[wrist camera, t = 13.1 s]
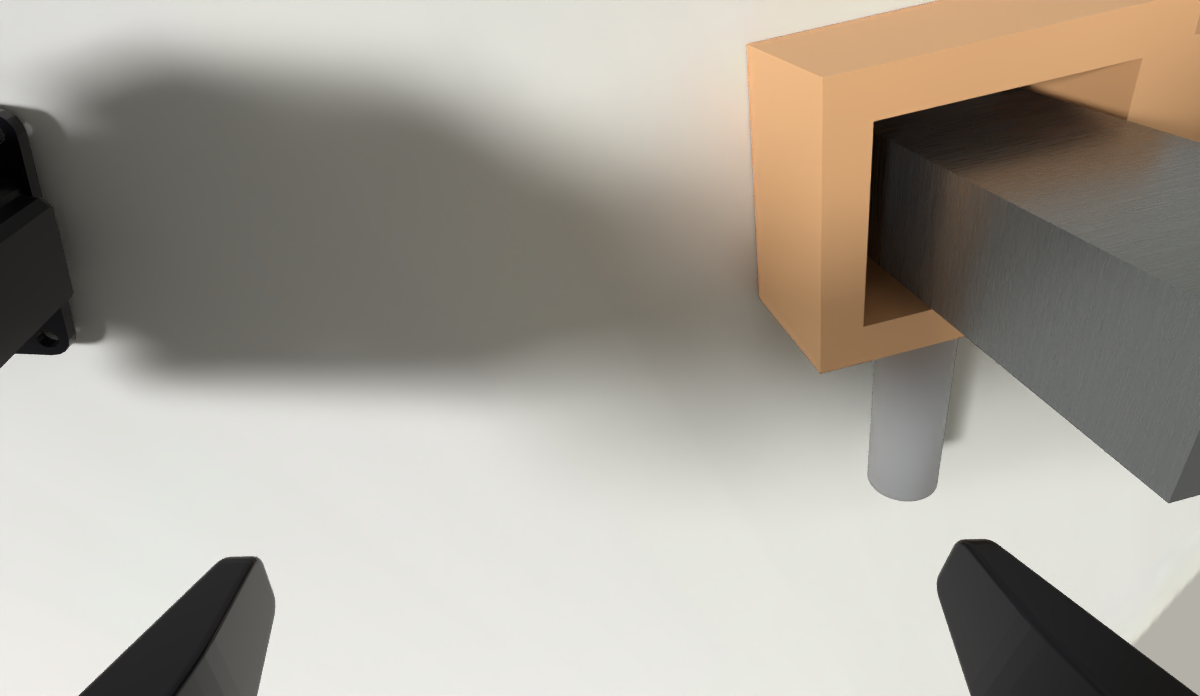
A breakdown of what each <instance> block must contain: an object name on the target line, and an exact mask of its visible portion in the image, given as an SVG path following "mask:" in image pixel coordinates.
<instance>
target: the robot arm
mask: <svg viewBox="0 0 1200 696" xmlns="http://www.w3.org/2000/svg"><path fill="white" fill-rule="evenodd" d="M0 128H1V129H2V130H3V132H4V134H5V140H3V139H0V368H1V367H2V366H3V365H4V364H5V363H6V362H7V361H8V360H9V359H10V358H11V357H12V356H13V355H14V354H39V355H57V354H61V353H63V352H65V351H66V350H67V349H68V348H69V347H70V346H71V344H72V343H73V342H74V340H75V339H76V332H75V328H74V323H73V319H72V315H71V311H70V307H69V303H68V299H69V298H70V297H71V296H72V295H73V289H72V285H71V281H70V277H69V273H68V268H67V264H66V260H65V256H64V252H63V248H62V243H61V239H60V235H59V231H58V227H57V223H56V218H55V214H54V210H53V208H52V207H51V205H50V204H49V203H48V202H47V201H46V200H45V199H43V198H42V194H41V190H40V186H39V182H38V177H37V173H36V169H35V165H34V161H33V157H32V153H31V149H30V145H29V141H28V137H27V133H26V130H25V128H24V126H23V124H22V122H21V121H20V120H19V119H18V118H17V117H16V116H15V115H14V114H12V113H10V112H9V111H7V110H5V109H1V108H0ZM44 331H48V332H51V333H53V334H55V335H56V336H57V338H58V339H59V340H55V339H51V338H49V337H48V336H46V334H45V333H44ZM937 592H938V597H939V600H940V603H941V606H942V609H943V612H944V615H945V618H946V621H947V624H948V628H949V631H950V634H951V637H952V640H953V643H954V646H955V649H956V652H957V655H958V658H959V661H960V665H961V668H962V671H963V674H964V677H965V680H966V683H967V686H968V689H969V692H970V695H971V696H1198V695H1197V694H1195V693H1194V692H1192V691H1191V690H1190V689H1189V688H1187V687H1186V686H1185V685H1184V684H1182V683H1181V682H1180V681H1178V680H1177V679H1176V678H1174V677H1173V676H1171V675H1170V674H1169V673H1167V672H1166V671H1165V670H1164V669H1162V668H1161V667H1160V666H1158V665H1157V664H1156V663H1154V662H1153V661H1152V660H1150V659H1149V658H1148V657H1146V656H1145V655H1144V654H1142V653H1141V652H1140V651H1138V650H1137V649H1136V648H1135V647H1133V646H1132V645H1131V644H1129V643H1128V642H1127V641H1125V640H1124V639H1123V638H1121V637H1120V636H1119V635H1117V634H1116V633H1115V632H1113V631H1112V630H1111V629H1109V628H1108V627H1107V626H1105V625H1104V624H1103V623H1101V622H1100V621H1099V620H1097V619H1096V618H1095V617H1093V616H1092V615H1091V614H1089V613H1088V612H1087V611H1086V610H1084V609H1083V608H1082V607H1080V606H1079V605H1078V604H1076V603H1075V602H1074V601H1072V600H1071V599H1070V598H1068V597H1067V596H1066V595H1064V594H1063V593H1062V592H1060V591H1059V590H1058V589H1056V588H1055V587H1054V586H1052V585H1051V584H1050V583H1048V582H1047V581H1046V580H1044V579H1043V578H1042V577H1040V576H1039V575H1038V574H1037V573H1035V572H1034V571H1033V570H1031V569H1030V568H1029V567H1027V566H1026V565H1025V564H1023V563H1022V562H1021V561H1019V560H1018V559H1017V558H1015V557H1014V556H1013V555H1011V554H1010V553H1009V552H1007V551H1006V550H1005V549H1003V548H1002V547H1001V546H999V545H998V544H996V543H995V542H993V541H991V540H987V539H964V540H960V541H958V542H957V543H956V544H955V545H954V547H953V549H952V550H951V552H950V554H949V556H948V558H947V560H946V562H945V564H944V566H943V568H942V569H941V571H940V573H939V575H938V579H937ZM274 614H275V597H274V593H273V590H272V588H271V585H270V582H269V579H268V576H267V574H266V571H265V568H264V565H263V563H262V561H261V560H260V559H259V558H258V557H255V556H242V557H226V558H224V559H222V560H220V561H219V562H217V563H216V564H215V565H214V566H213V567H212V568H211V569H210V570H209V571H208V572H207V573H206V574H205V575H204V576H203V577H201V578H200V579H199V580H198V581H197V582H196V583H195V584H194V585H193V586H192V587H191V588H190V589H189V590H188V591H187V592H186V593H185V594H184V595H183V596H182V597H181V598H180V599H179V600H178V601H177V602H175V603H174V604H173V605H172V606H171V607H170V608H169V609H168V610H167V611H166V612H165V613H164V614H163V615H162V616H161V617H160V618H159V619H158V620H157V621H156V622H155V623H154V624H153V625H152V626H150V627H149V628H148V629H147V630H146V631H145V632H144V633H143V634H142V635H141V636H140V637H139V638H138V639H137V640H136V641H135V642H134V643H133V644H132V645H131V646H130V647H129V648H128V649H127V650H125V651H124V652H123V653H122V654H121V655H120V656H119V657H118V658H117V659H116V660H115V661H114V662H113V663H112V664H111V665H110V666H109V667H108V668H107V669H106V670H105V671H104V672H103V673H102V674H100V675H99V676H98V677H97V678H96V679H95V680H94V681H93V682H92V683H91V684H90V685H89V686H88V687H87V688H86V689H85V690H84V691H83V692H82V693H81V694H80V695H79V696H257V693H258V689H259V684H260V679H261V675H262V670H263V666H264V661H265V656H266V652H267V647H268V643H269V638H270V633H271V629H272V624H273V619H274Z"/></svg>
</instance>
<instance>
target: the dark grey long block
mask: <svg viewBox="0 0 1200 696" xmlns="http://www.w3.org/2000/svg"><path fill="white" fill-rule="evenodd" d="M867 256H868V257H869V258H870V259H872V260H873V261H874V262H875V263H877V264H878V265H879V266H880V267H881V268H883V269H884V270H885V271H886V272H888V273H889V274H890V275H891V276H892V277H894V278H895V279H896V280H897V281H898V282H900V283H901V284H902V285H903V286H905V287H906V288H907V289H908V290H909V291H911V292H912V293H913V294H914V295H916V296H917V297H918V298H919V299H920V300H922V301H923V302H924V303H925V304H926V305H928V306H929V307H930V308H931V309H933V310H934V311H935V312H936V313H937V314H939V315H940V316H941V317H942V318H944V319H945V320H946V321H947V322H948V323H950V324H951V325H952V326H953V327H954V328H956V329H957V330H958V331H959V332H961V333H962V334H963V335H964V336H965V337H967V338H968V339H969V340H970V341H972V342H973V343H974V344H975V345H976V346H978V347H979V348H980V349H981V350H982V351H984V352H985V353H986V354H987V355H989V356H990V357H991V358H992V359H993V360H995V361H996V362H997V363H998V364H1000V365H1001V366H1002V367H1003V368H1004V369H1006V370H1007V371H1008V372H1009V373H1010V374H1012V375H1013V376H1014V377H1015V378H1017V379H1018V380H1019V381H1020V382H1021V383H1023V384H1024V385H1025V386H1026V387H1028V388H1029V389H1030V390H1031V391H1032V392H1034V393H1035V394H1036V395H1037V396H1038V397H1040V398H1041V399H1042V400H1043V401H1045V402H1046V403H1047V404H1048V405H1049V406H1051V407H1052V408H1053V409H1054V410H1056V411H1057V412H1058V413H1059V414H1060V415H1062V416H1063V417H1064V418H1065V419H1066V420H1068V421H1069V422H1070V423H1071V424H1073V425H1074V426H1075V427H1076V428H1077V429H1079V430H1080V431H1081V432H1082V433H1084V434H1085V435H1086V436H1087V437H1088V438H1090V439H1091V440H1092V441H1093V442H1094V443H1096V444H1097V445H1098V446H1099V447H1101V448H1102V449H1103V450H1104V451H1105V452H1107V453H1108V454H1109V455H1110V456H1112V457H1113V458H1114V459H1115V460H1116V461H1118V462H1119V463H1120V464H1121V465H1123V466H1124V467H1125V468H1126V469H1127V470H1129V471H1130V472H1131V473H1132V474H1133V475H1135V476H1136V477H1137V478H1138V479H1140V480H1141V481H1142V482H1143V483H1144V484H1146V485H1147V486H1148V487H1149V488H1151V489H1152V490H1153V491H1154V492H1155V493H1157V494H1158V495H1159V496H1160V497H1161V498H1163V499H1164V500H1165V501H1166V502H1168V503H1172V502H1175V501H1179V500H1183V499H1186V498H1190V497H1194V496H1197V495H1200V143H1199V142H1196V141H1193V140H1190V139H1186V138H1183V137H1180V136H1176V135H1173V134H1170V133H1167V132H1163V131H1160V130H1157V129H1153V128H1150V127H1147V126H1144V125H1140V124H1137V123H1134V122H1131V121H1127V120H1124V119H1121V118H1117V117H1114V116H1111V115H1108V114H1104V113H1101V112H1098V111H1095V110H1091V109H1088V108H1085V107H1081V106H1078V105H1075V104H1072V103H1068V102H1065V101H1062V100H1058V99H1055V98H1052V97H1049V96H1045V95H1042V94H1039V93H1036V92H1032V91H1029V90H1026V89H1022V88H1019V87H1017V88H1013V89H1009V90H1004V91H1000V92H996V93H992V94H988V95H983V96H979V97H975V98H971V99H966V100H962V101H958V102H954V103H950V104H945V105H941V106H937V107H933V108H928V109H924V110H920V111H916V112H912V113H907V114H903V115H899V116H895V117H890V118H886V119H882V120H878V121H874V122H873V143H872V163H871V183H870V203H869V223H868V243H867Z"/></svg>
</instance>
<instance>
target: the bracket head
mask: <svg viewBox="0 0 1200 696" xmlns="http://www.w3.org/2000/svg"><path fill="white" fill-rule="evenodd" d="M747 64H748V84H749V105H750V125H751V145H752V165H753V185H754V205H755V225H756V245H757V265H758V285H759V298H760V299H761V301H762V302H763V303H764V304H765V306H766V307H767V308H768V309H769V311H770V312H771V313H772V314H773V316H774V317H775V318H776V319H777V321H778V322H779V323H780V324H781V326H782V327H783V328H784V329H785V330H786V332H787V333H788V334H789V335H790V337H791V338H792V339H793V340H794V342H795V343H796V344H797V345H798V347H799V348H800V349H801V350H802V352H803V353H804V354H805V355H806V357H807V358H808V359H809V360H810V361H811V363H812V364H813V365H814V366H815V368H816V369H817V370H818V371H819V373H820V374H821V373H825V372H829V371H833V370H837V369H841V368H844V367H848V366H852V365H856V364H860V363H864V362H868V361H872V360H874V376H873V392H872V408H871V424H870V440H869V456H868V472H867V475H868V480H869V482H870V484H871V485H872V486H873V488H874V489H875V490H877V491H878V492H879V493H881V494H882V495H884V496H886V497H888V498H891V499H895V500H899V501H917V500H921V499H924V498H926V497H928V496H929V495H931V494H932V493H933V492H934V491H935V489H936V487H937V482H938V475H939V468H940V461H941V454H942V447H943V440H944V433H945V426H946V419H947V412H948V405H949V398H950V391H951V384H952V377H953V370H954V363H955V356H956V349H957V342H958V338H961V337H964V335H963V334H962V333H961V332H959V331H958V330H957V329H956V328H954V327H953V326H952V325H951V324H950V323H948V322H947V321H946V320H945V319H944V318H942V317H941V316H940V315H939V314H937V313H936V312H935V311H934V310H933V309H931V308H930V307H929V306H928V305H926V304H925V303H924V302H923V301H922V300H920V299H919V298H918V297H917V296H916V295H914V294H913V293H912V292H911V291H909V290H908V289H907V288H906V287H905V286H903V285H902V284H901V283H900V282H898V281H897V280H896V279H895V278H894V277H892V276H891V275H890V274H889V273H888V272H886V271H885V270H884V269H883V268H881V267H880V266H879V265H878V264H877V263H875V262H874V261H873V260H872V259H870V258H869V257H868V256H867V243H868V223H869V203H870V183H871V163H872V143H873V122H874V121H878V120H882V119H886V118H890V117H895V116H899V115H903V114H907V113H912V112H916V111H920V110H924V109H928V108H933V107H937V106H941V105H945V104H950V103H954V102H958V101H962V100H966V99H971V98H975V97H979V96H983V95H988V94H992V93H996V92H1000V91H1004V90H1009V89H1013V88H1017V87H1019V88H1022V89H1026V90H1029V91H1032V92H1036V93H1039V94H1042V95H1045V96H1049V97H1052V98H1055V99H1058V100H1062V101H1065V102H1068V103H1072V104H1075V105H1078V106H1081V107H1085V108H1088V109H1091V110H1095V111H1098V112H1101V113H1104V114H1108V115H1111V116H1114V117H1117V118H1121V119H1124V120H1127V121H1131V122H1134V123H1137V124H1140V125H1144V126H1147V127H1150V128H1153V129H1157V130H1160V131H1163V132H1167V133H1170V134H1173V135H1176V136H1180V137H1183V138H1186V139H1190V140H1193V141H1196V142H1199V143H1200V0H939V1H934V2H930V3H925V4H921V5H917V6H912V7H908V8H903V9H899V10H895V11H890V12H886V13H881V14H877V15H873V16H868V17H864V18H859V19H855V20H851V21H846V22H842V23H837V24H833V25H829V26H824V27H820V28H815V29H811V30H807V31H802V32H798V33H793V34H789V35H785V36H780V37H776V38H771V39H767V40H763V41H758V42H754V43H749V44H747Z"/></svg>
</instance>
